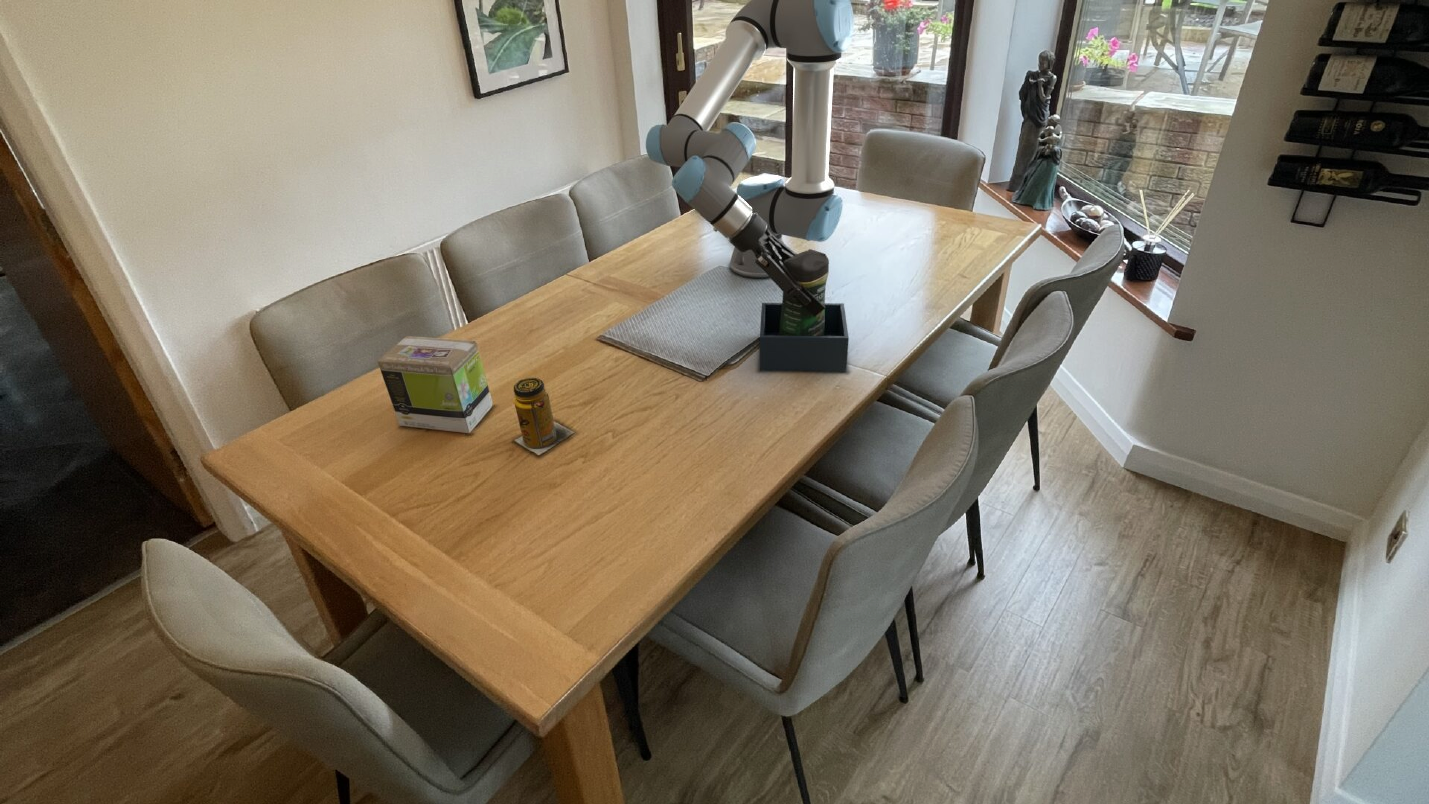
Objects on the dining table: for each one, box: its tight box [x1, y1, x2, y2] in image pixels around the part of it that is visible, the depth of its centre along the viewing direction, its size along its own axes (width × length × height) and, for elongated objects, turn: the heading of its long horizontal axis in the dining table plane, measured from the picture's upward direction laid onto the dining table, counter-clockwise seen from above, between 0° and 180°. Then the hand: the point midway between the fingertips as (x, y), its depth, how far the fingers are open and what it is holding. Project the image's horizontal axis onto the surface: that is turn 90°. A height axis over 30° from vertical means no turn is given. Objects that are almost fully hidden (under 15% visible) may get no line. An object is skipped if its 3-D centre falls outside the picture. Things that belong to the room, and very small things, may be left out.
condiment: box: [513, 377, 575, 456], centre depth 130 cm, size 7×8×12 cm
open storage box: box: [759, 302, 850, 373], centre depth 153 cm, size 15×18×8 cm
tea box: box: [377, 335, 493, 434], centre depth 136 cm, size 15×10×15 cm, turn 77°
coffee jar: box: [779, 248, 830, 336], centre depth 148 cm, size 10×8×19 cm
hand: (819, 299), depth 148 cm, fingers closed on coffee jar, 10 cm apart
